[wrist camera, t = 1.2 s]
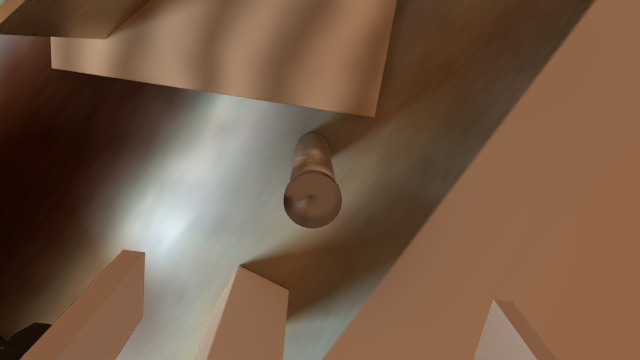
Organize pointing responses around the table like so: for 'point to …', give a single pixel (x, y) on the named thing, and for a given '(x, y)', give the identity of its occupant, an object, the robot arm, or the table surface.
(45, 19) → the hinge
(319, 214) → the hinge pin
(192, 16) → the board
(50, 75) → the table surface
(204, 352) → the milk
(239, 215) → the table surface
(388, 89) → the table surface
